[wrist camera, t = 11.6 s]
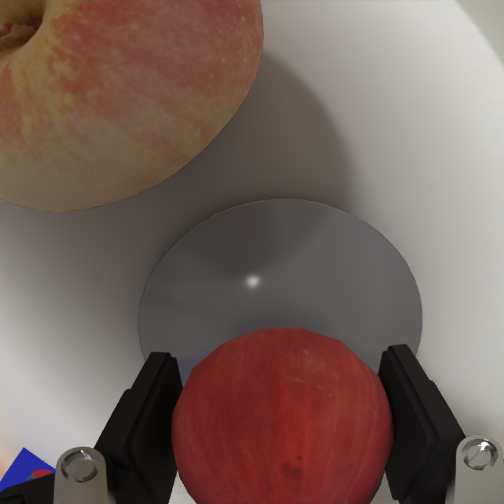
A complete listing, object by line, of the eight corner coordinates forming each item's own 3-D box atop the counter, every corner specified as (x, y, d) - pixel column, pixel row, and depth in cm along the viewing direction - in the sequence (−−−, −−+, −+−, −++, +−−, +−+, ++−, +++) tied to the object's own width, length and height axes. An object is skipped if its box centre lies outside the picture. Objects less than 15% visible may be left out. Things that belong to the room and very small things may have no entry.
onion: (382, 317, 11) (501, 501, 3) (307, 425, 12) (334, 595, 4) (228, 255, 10) (176, 503, 2) (174, 385, 11) (122, 574, 4)
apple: (109, -30, 8) (5, -117, 1) (304, 18, 9) (346, -139, 2) (28, 146, 11) (-123, 167, 3) (202, 227, 12) (93, 352, 4)
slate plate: (130, 204, 11) (115, 210, 10) (422, 195, 11) (438, 200, 10) (173, 421, 15) (167, 438, 13) (386, 415, 14) (393, 432, 13)
